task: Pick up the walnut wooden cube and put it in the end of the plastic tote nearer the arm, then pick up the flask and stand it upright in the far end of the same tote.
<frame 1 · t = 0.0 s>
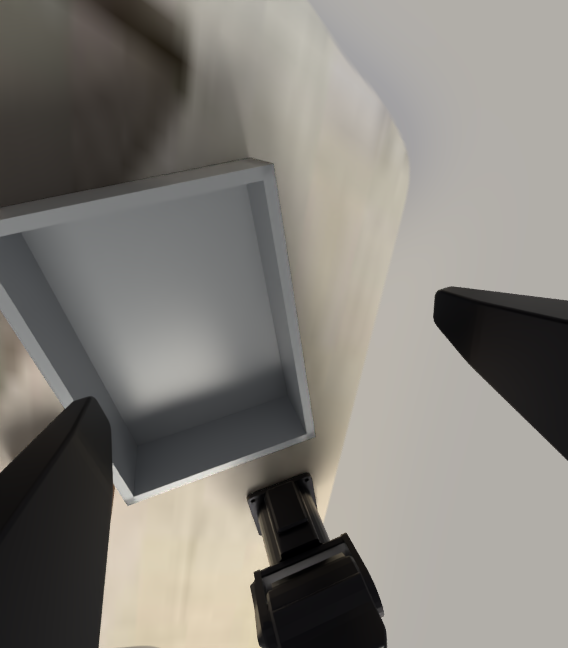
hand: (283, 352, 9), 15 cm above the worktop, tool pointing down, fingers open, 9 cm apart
tote: (182, 324, 24), on the worktop
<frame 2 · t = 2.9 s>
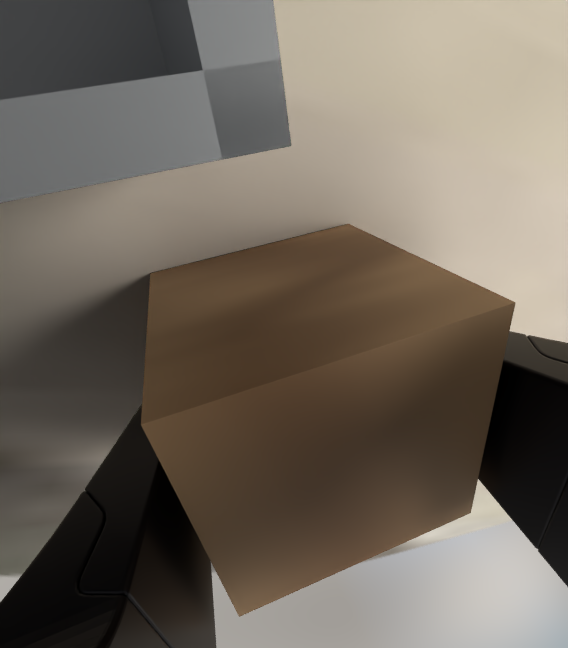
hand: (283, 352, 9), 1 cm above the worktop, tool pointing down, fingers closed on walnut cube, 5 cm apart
walnut cube: (272, 333, 10), on the worktop, touching gripper
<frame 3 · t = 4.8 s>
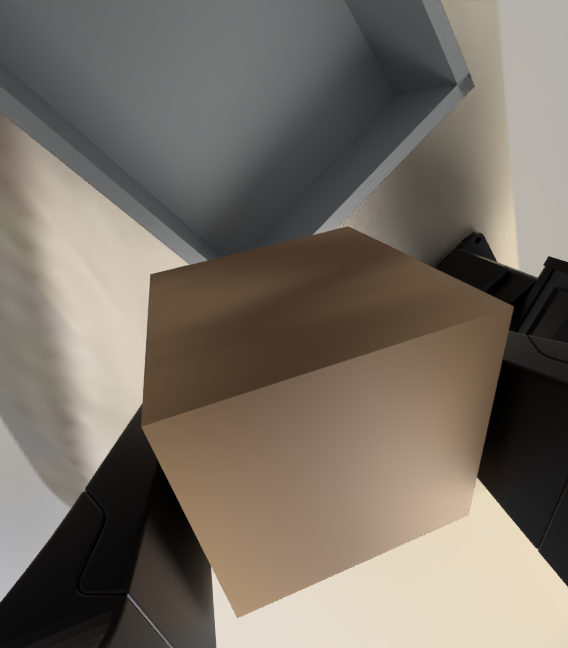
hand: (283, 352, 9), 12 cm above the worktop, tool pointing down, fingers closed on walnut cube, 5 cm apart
walnut cube: (271, 334, 10), point 11 cm above the worktop, touching gripper
tote: (181, 26, 15), on the worktop
when the fingers open (3 cm above the worktop, at t = 7.2 s): walnut cube drops 2 cm, resting on tote.
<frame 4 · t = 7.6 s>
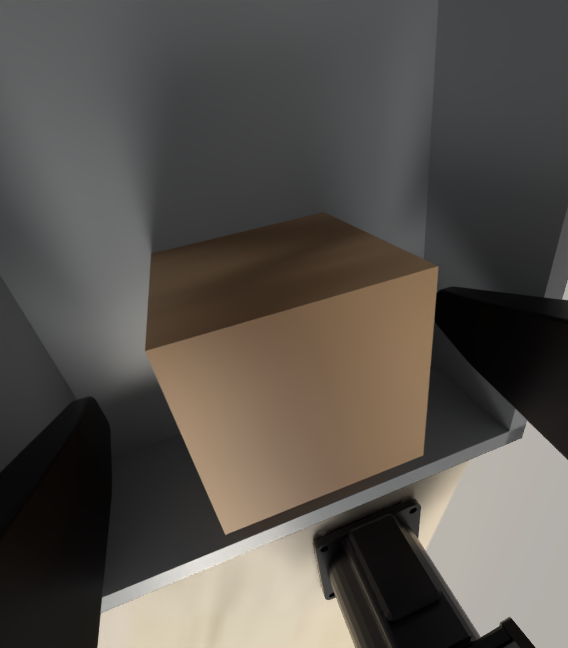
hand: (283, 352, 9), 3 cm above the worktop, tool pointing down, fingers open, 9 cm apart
walnut cube: (258, 309, 11), point 1 cm above the worktop, touching tote
tote: (220, 151, 9), on the worktop
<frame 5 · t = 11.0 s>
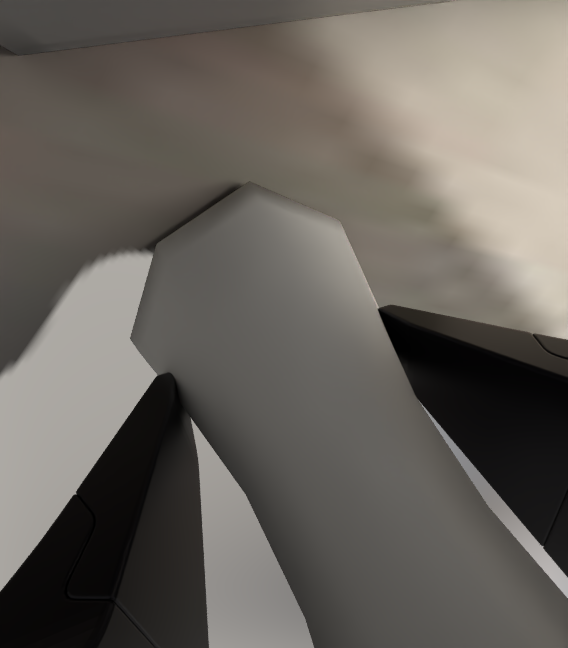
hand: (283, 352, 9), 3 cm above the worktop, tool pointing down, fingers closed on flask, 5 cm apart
flask: (257, 307, 11), on the worktop, touching gripper
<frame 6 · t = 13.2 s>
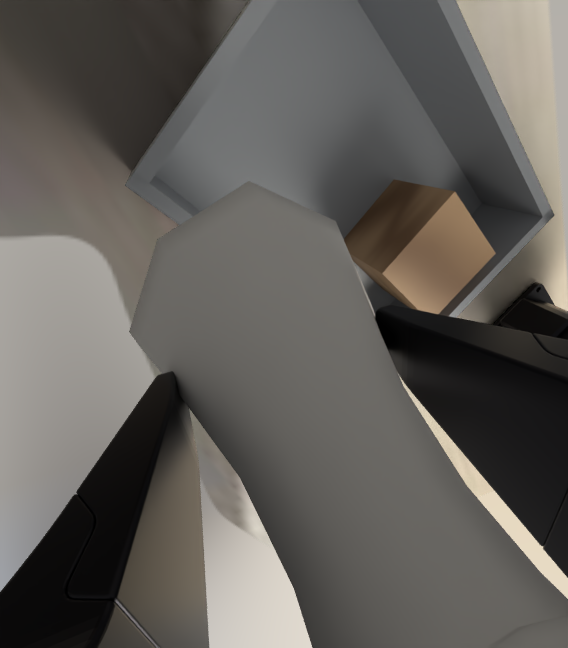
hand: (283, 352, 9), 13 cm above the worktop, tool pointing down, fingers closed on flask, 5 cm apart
flask: (254, 304, 12), point 9 cm above the worktop, touching gripper
walnut cube: (387, 238, 22), point 1 cm above the worktop, touching tote
tote: (339, 188, 21), on the worktop
when the fingers open (5 cm above the worktop, at t = 15.7 s): flask stays where it is, resting on tote.
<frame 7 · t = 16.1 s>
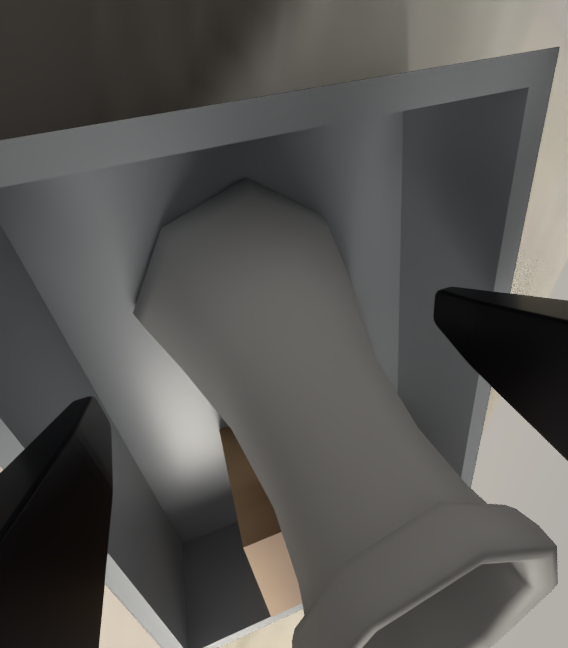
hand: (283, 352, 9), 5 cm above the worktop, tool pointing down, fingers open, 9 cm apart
flask: (248, 292, 12), resting on tote
walnut cube: (284, 448, 16), point 1 cm above the worktop, touching tote
tote: (263, 365, 15), on the worktop
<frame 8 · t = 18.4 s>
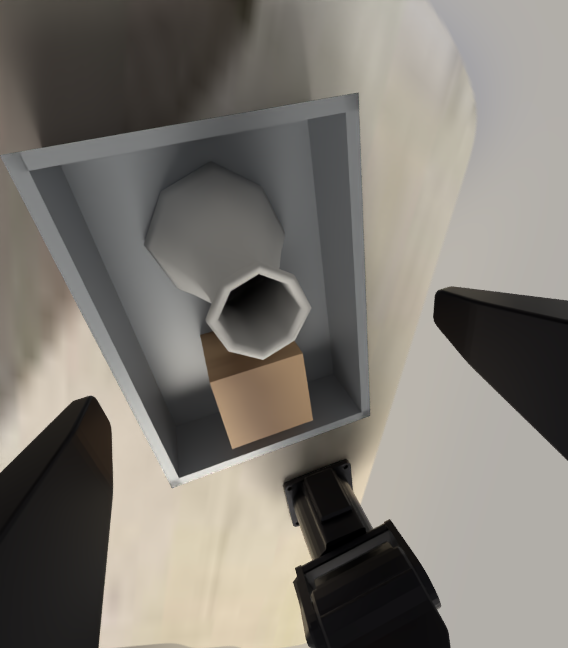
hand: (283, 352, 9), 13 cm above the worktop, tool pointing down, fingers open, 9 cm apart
flask: (216, 236, 20), resting on tote
walnut cube: (246, 355, 24), point 1 cm above the worktop, touching tote
tote: (230, 291, 22), on the worktop
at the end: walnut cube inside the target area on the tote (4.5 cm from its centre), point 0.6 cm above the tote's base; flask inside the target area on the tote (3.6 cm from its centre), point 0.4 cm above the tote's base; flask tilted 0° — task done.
